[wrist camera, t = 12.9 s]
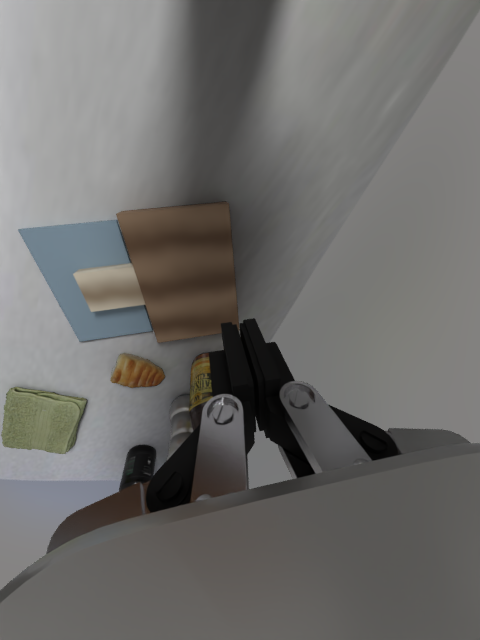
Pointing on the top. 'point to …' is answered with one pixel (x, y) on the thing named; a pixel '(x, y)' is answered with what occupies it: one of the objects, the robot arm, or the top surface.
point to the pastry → (136, 372)
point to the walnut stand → (183, 267)
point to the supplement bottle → (138, 466)
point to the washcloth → (41, 420)
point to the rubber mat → (79, 253)
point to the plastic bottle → (179, 423)
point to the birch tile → (109, 287)
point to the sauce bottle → (199, 388)
